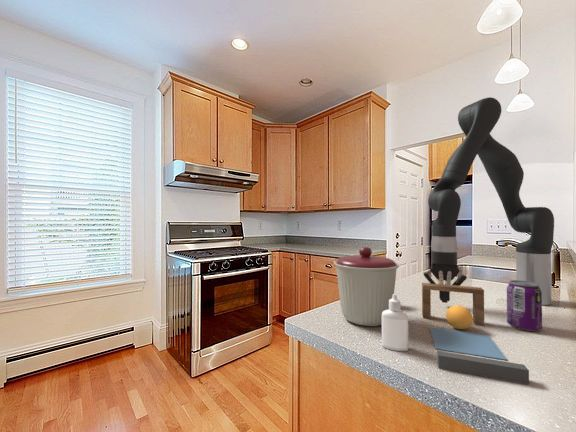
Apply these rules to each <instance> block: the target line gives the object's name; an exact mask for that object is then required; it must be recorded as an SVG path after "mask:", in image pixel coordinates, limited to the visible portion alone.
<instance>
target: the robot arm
mask: <svg viewBox="0 0 576 432" xmlns="http://www.w3.org/2000/svg"><path fill="white" fill-rule="evenodd" d="M501 115H502V105H501V103H500V101H499V100H498V99H497V98H495V97H485V98H482V99H478V100H477V101H475V102H473V103H471V104H470V103H469V104H468V105H466V106H464V107H462V108H461V109H460V110H459V112H458V114H457V121H458V125H459V127H460V129H461V131H462V132H463V134H464V136H465V137H464V139H463V140H462V142H461V143H460V144H459V145H458V147H457V148H456V149H455V150H454V152H452V154H451V155H450V157H449V159H448V160H447V162H446V164H445V167H444V169H443V172H442V174H441V176H440V178H439V180H438V181H437V182H436V184H435V185H434V187H433V188H432V190H431V192H430V194H429V196H428V199H427V203H428V206H429V209H431V210H433V211H434V212H437V216H436V218H435V219H434V220H432V222H431V223H432V224H431V241H430V246H431V247H430V248H431V250H430V251H431V253H430V254H431V260H430V261H431V263H430V264H431V265H430V266H429V270H427V271H424V272H423V276H424V277H425V279H426V280H427V281H428V282H429V283H430V284H443V285H455V286H462V284H463V283H464V282H465V281H466V280H467V276H466V275H465V274H463V273H462V272H460V269H459V267H458V241H457V221H458V219H459V214H460V210H461V203H462V202H461V201H462V200H461V197H460V195H459V193H458V192H457V189H458V188H460V187H462V186H463V184H464V183H465V182H466V181H467V180H466V179H467V177H468V174H470V173H469V172H470V170H471V167H472V165H473V164H474V161H475V159H476V157H477V156H478V158H479V159H480V161H481V163H482V165H483V168H484V170H485V172H486V174H487V176H488V177H489V179H490V181H491V184H492V185H493V187H494V188H495V191H496V193H497V194H498V195H497V196H498V197H499V199H500V202H501V204H502V207H503V209H504V212H505V215H506V219H507V221H508V223H509V225H510V227H511V229H513V230H514V231H515V232H517V233H521V234H530V237H529V238H528V239H527V240H525V241H522V242H519V243H517V244H516V245H515V265H516V266H515V269H516V270H515V273H516V274H515V280H519V281H528V282H533V283H537V284H539V288H540V290H541V292H542V306H550V305H552V301H553V300H552V290H553V289H552V247H553V245H554V236H555V235H554V234H555V233H554V232H555V217H554V216H555V215H554V213H553V212H552V210H551V209H550V208H548V207H546V206H534V207H533V206H532V207H531V206H528V207H526V206H525V205H524V204H523V202H522V199H521V196H520V191H521V187H522V184H523V181H524V175H525V173H524V169H523V167H522V165H521V163H520V160H519V158H518V157H517V155H516V154H515V153H514V152H513V151H511V150H510V149H509V148H508V147H507V146H505V145H503V144H502V143H500V142H498V141H497V140H496V139H495V138H494V137H493V136H492V135H491V133H492V131H493V129H494V128H495V126H496V125H497V123H498V122H499V119H500V117H501ZM433 276H434V277H435V279H436V280H437V282H438V283H436V282H435V281H434V280H433V278H432V277H433ZM455 278H457V279H456V280H454V279H455ZM453 280H454V282H453V283H452V281H453ZM451 283H452V284H451ZM450 293H451V292H450V291H439V292H438V294H439V295H438V298H439V300H440V301H441V303H445V304H448V302H450V300H451V299H450V298H451V297H450V296H451V294H450Z"/></svg>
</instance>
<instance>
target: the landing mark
mask: <svg viewBox="0 0 576 432" xmlns="http://www.w3.org/2000/svg"><path fill="white" fill-rule="evenodd" d="M429 330H430V335H431V337H432V341H433V344H434V348H435V350H437V351H443V352H449V353H456V354H462V355H468V356H474V357H481V358H487V359H493V360H499V361H508V358H507V357H506V355H505V354H504V353H503V352H502V351H501V350H500V348H499V347H498V346H497V344H496V343H495V342H494V340H492V338H491V337H490V336H489V334H487V333H486V334H485V333H478V332H470V331H464V330H457V329H456V330H455V329H448V328H442V327H441V328H440V327H434V326H429Z"/></svg>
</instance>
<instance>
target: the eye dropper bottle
mask: <svg viewBox="0 0 576 432" xmlns="http://www.w3.org/2000/svg"><path fill="white" fill-rule="evenodd" d="M381 346H382V347H383V348H385V349H388V350H391V351H397V352H407V351H408V350H409V316H408V314H407V313H406V312H405V311H403V310H401V300H399V299H398V297H397V294H395V293H394V294H393V297H392V299H390V300H389V309H388V310H385V311H383V312H382V325H381Z"/></svg>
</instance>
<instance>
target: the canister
mask: <svg viewBox="0 0 576 432" xmlns="http://www.w3.org/2000/svg"><path fill="white" fill-rule="evenodd" d="M358 253H359V254H358V255H357V254H356V255H345V256H341V257H339V258H338V259H336V260H334V261H333V265H335V266H336V267H335V268H336V277H337V284H338V285H337V286H338V295H339V301H340V302H339V303H340V308H341V313H342V316H343V317H344V318H345V319H346V320H347V321H348V322H350V323H352V324H355V325H359V326H365V327H378V326H382V312H383V311H385V310H388V309H389V300H390V299H392V297H393V294H395V288H396V279H397V278H396V277H397V269H398V268H400V264H399V263H397V262H395V260H393V259H391V258H388V257H385V256H380V255H379V256H378V255H372V253H373V251H372V249H371V248H370V247H368V246H363V247H360V249H359V250H358Z"/></svg>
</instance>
